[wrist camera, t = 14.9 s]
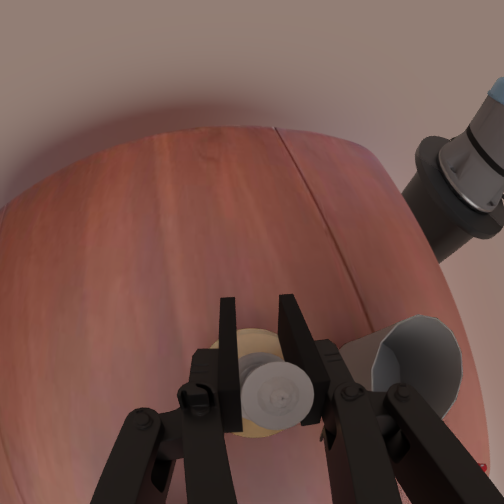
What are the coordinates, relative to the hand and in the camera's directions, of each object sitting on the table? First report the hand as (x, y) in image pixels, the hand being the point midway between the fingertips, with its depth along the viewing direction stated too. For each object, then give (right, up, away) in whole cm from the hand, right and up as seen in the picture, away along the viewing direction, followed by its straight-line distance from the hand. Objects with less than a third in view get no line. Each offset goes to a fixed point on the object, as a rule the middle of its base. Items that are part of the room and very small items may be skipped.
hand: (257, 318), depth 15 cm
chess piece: (0, -5, +1) cm, 5 cm away
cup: (+11, -9, +9) cm, 16 cm away
